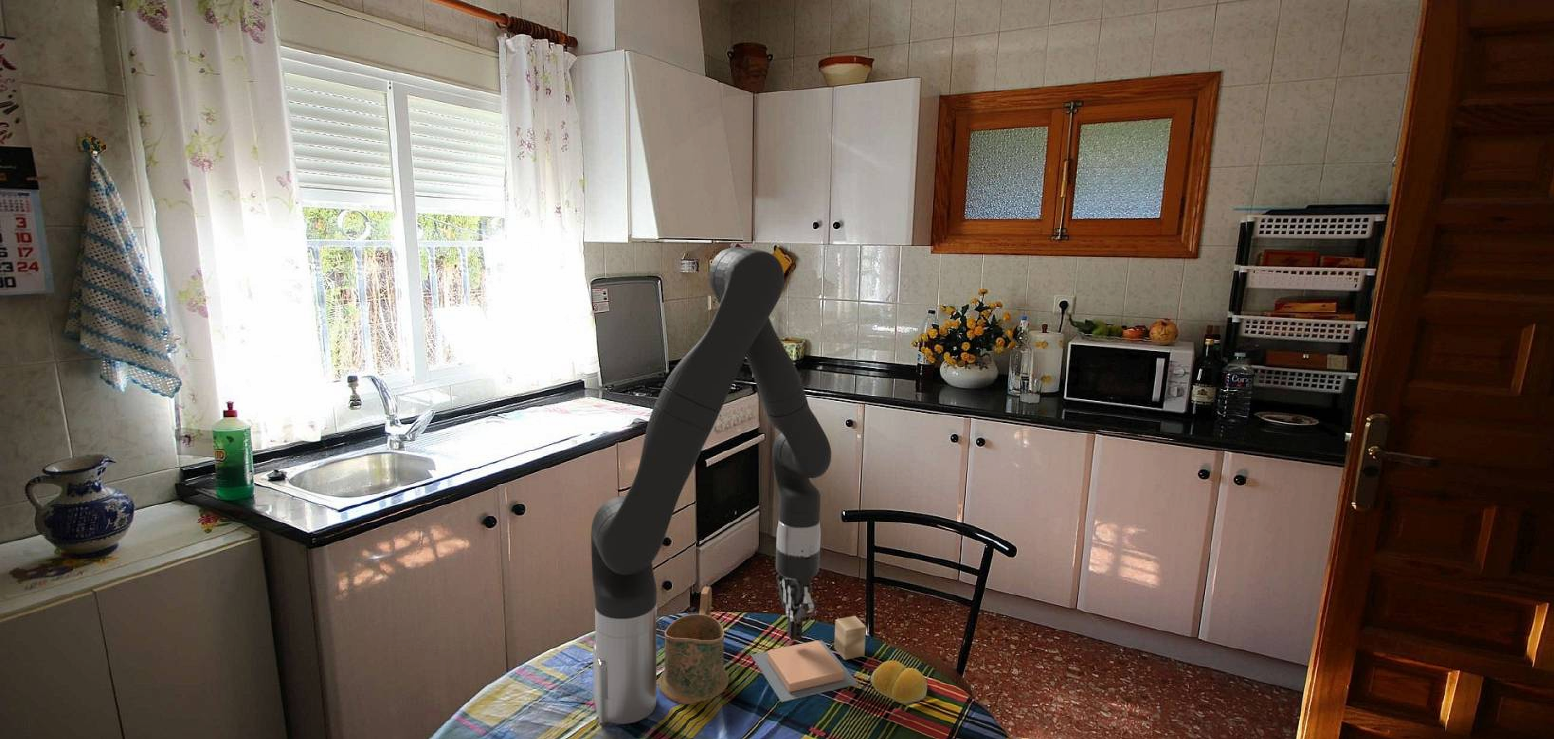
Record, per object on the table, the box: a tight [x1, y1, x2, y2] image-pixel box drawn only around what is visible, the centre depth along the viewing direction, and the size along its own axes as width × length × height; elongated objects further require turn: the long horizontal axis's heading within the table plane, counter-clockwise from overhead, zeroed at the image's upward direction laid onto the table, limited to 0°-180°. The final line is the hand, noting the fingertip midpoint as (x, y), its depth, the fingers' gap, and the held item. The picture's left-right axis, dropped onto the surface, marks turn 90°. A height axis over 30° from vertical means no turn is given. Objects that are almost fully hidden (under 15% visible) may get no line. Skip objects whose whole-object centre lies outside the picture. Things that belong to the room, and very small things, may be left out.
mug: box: [658, 586, 730, 705], centre depth 120 cm, size 12×18×12 cm, turn 174°
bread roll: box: [870, 660, 928, 704], centre depth 118 cm, size 8×9×4 cm
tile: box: [766, 640, 844, 692], centre depth 122 cm, size 10×2×10 cm
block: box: [833, 615, 867, 661], centre depth 127 cm, size 4×4×6 cm
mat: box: [750, 639, 859, 703], centre depth 122 cm, size 14×14×1 cm
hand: (794, 637), depth 125 cm, fingers closed
